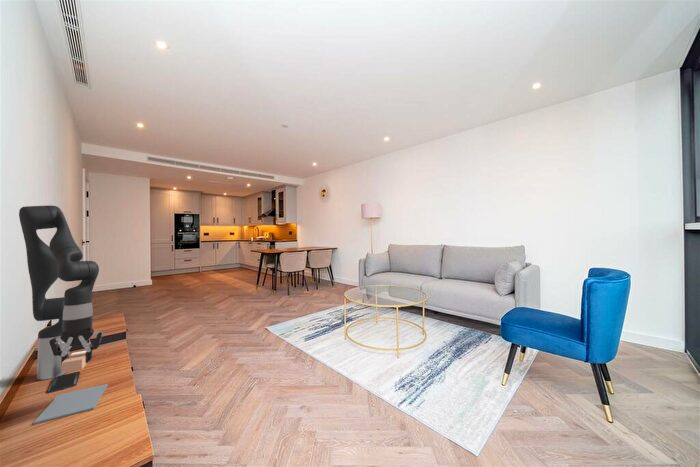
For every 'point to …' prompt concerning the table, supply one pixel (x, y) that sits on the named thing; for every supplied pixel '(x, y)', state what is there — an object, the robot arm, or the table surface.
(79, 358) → the white-tipped pink eraser
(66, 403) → the mat
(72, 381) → the phone
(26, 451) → the table surface
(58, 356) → the robot arm
